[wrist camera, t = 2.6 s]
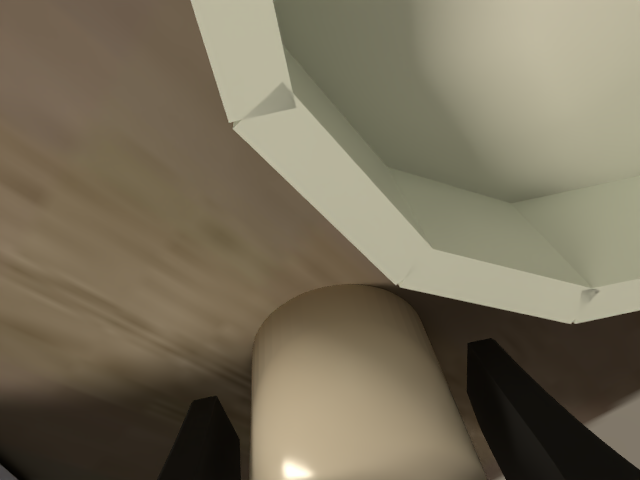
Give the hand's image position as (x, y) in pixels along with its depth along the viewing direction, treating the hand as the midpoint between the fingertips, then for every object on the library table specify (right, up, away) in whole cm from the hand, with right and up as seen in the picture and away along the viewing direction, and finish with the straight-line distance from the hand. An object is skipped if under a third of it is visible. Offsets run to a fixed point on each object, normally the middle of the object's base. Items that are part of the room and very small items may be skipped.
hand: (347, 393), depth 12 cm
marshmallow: (0, +1, +1) cm, 2 cm away
